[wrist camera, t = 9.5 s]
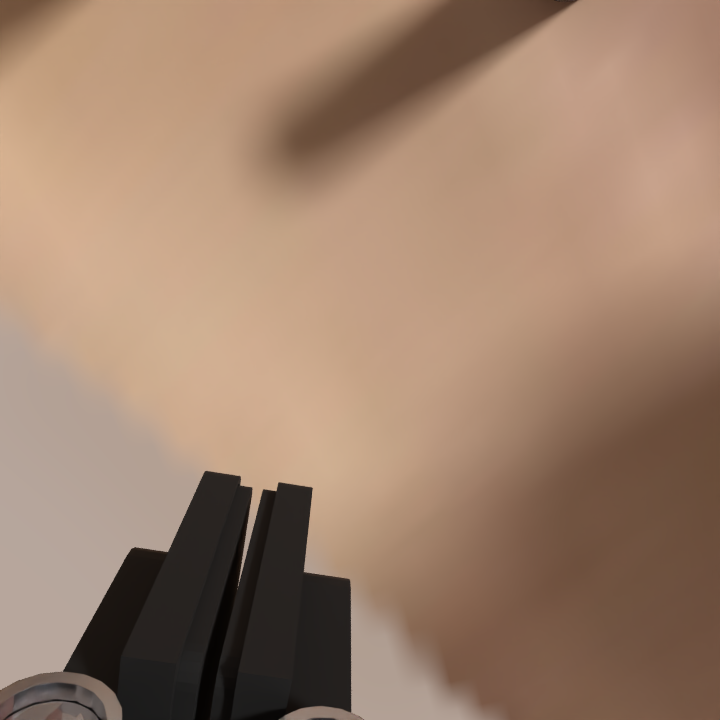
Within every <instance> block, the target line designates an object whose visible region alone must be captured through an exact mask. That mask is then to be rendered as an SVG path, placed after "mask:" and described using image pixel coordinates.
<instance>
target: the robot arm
mask: <svg viewBox="0 0 720 720" xmlns="http://www.w3.org/2000/svg"><path fill="white" fill-rule="evenodd" d="M240 482H241V476H235V475H229V474H222V473H216V472H209V471H205V473H204V474H203V477H202V479H201V481H200V483H199V485H198V488H197V490H196V492H195V494H194V496H193V499H192V501H191V503H190V505H189V507H188V510H187V512H186V514H185V516H184V518H183V521H182V523H181V525H180V527H179V529H178V532H177V534H176V536H175V538H174V540H173V543H172V545H171V547H170V549H169V551H168V552H163V551H156V550H149V549H143V548H136V547H135V548H132V549H131V551H130V552H129V554H128V555H127V557H126V558H125V560H124V562H123V564H122V566H121V567H120V569H119V571H118V573H117V575H116V576H115V578H114V580H113V582H112V584H111V585H110V587H109V589H108V591H107V593H106V595H105V597H104V598H103V600H102V602H101V604H100V606H99V607H98V609H97V611H96V613H95V614H94V616H93V618H92V620H91V622H90V623H89V625H88V627H87V629H86V631H85V632H84V634H83V636H82V638H81V640H80V642H79V643H78V645H77V647H76V649H75V651H74V652H73V654H72V656H71V658H70V660H69V662H68V663H67V665H66V667H65V669H64V670H63V672H54V673H43V674H38V675H35V676H32V677H28V678H25V679H22V680H19V681H16V682H15V683H13V684H11V685H9V686H7V687H5V688H4V689H2V690H0V720H364V719H362V718H361V717H360V716H357V715H355V714H352V713H351V587H350V580H349V579H346V578H339V577H332V576H325V575H319V574H312V573H305V572H304V564H305V554H306V545H307V536H308V526H309V517H310V508H311V499H312V489H313V488H311V487H305V486H299V485H292V484H286V483H280V482H279V483H278V487H277V491H271V490H264V489H263V492H262V496H261V500H260V504H259V508H258V512H257V516H256V520H255V524H254V528H253V531H252V535H251V539H250V543H249V547H248V551H247V555H246V559H245V563H244V567H243V571H242V575H241V579H240V582H239V576H240V569H241V563H242V556H243V549H244V542H245V536H246V530H247V523H248V517H249V510H250V504H251V497H252V487H245V486H240ZM238 583H239V586H238ZM237 589H238V590H237Z"/></svg>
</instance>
